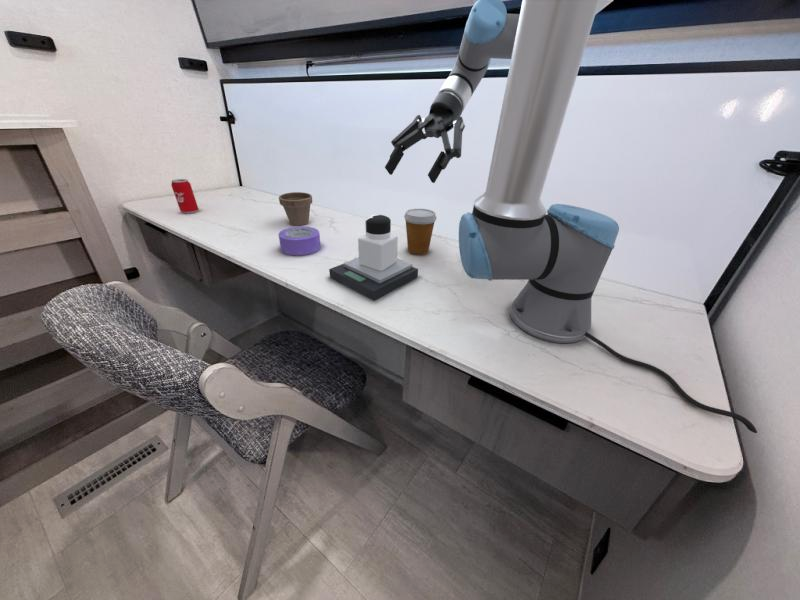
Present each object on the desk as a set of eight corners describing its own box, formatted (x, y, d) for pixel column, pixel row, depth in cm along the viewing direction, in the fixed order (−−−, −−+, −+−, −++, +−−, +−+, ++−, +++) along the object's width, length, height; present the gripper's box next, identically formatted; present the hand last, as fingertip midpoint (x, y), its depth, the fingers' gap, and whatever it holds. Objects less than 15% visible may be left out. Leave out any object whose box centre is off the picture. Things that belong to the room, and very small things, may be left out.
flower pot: (307, 229, 108) (303, 200, 103) (277, 227, 110) (272, 198, 104) (319, 220, 118) (316, 193, 113) (292, 217, 119) (288, 191, 114)
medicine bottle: (397, 262, 79) (398, 216, 73) (381, 272, 74) (381, 223, 67) (375, 255, 82) (374, 210, 76) (358, 264, 77) (356, 217, 71)
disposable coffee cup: (431, 258, 90) (435, 218, 83) (400, 255, 91) (401, 215, 85) (434, 247, 98) (438, 209, 91) (405, 244, 99) (407, 206, 93)
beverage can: (183, 210, 124) (172, 178, 117) (200, 209, 125) (190, 178, 119) (179, 214, 119) (167, 182, 112) (197, 213, 120) (186, 181, 114)
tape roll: (327, 243, 97) (326, 228, 95) (308, 258, 88) (306, 241, 85) (294, 239, 100) (292, 224, 97) (273, 252, 90) (269, 236, 88)
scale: (417, 277, 79) (418, 265, 78) (373, 300, 69) (373, 287, 67) (374, 259, 88) (374, 248, 86) (329, 277, 78) (328, 265, 76)
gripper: (498, 118, 72) (456, 193, 70) (416, 114, 86) (379, 177, 84) (492, 89, 66) (446, 171, 64) (405, 90, 80) (365, 158, 78)
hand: (408, 175), depth 74 cm, fingers open, 13 cm apart
